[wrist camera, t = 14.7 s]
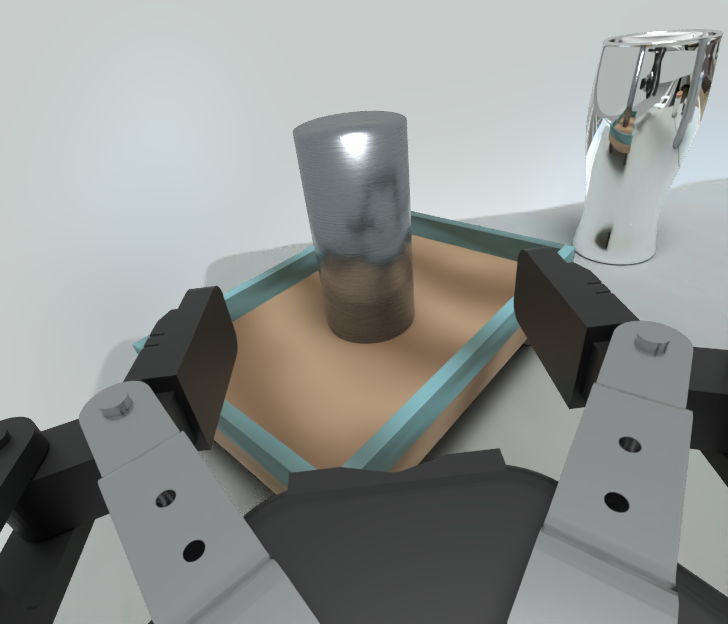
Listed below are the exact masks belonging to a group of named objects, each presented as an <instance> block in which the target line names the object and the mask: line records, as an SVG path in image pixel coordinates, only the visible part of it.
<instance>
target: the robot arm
mask: <svg viewBox="0 0 728 624" xmlns="http://www.w3.org/2000/svg"><path fill="white" fill-rule="evenodd" d="M514 312H515V316H516V319H517V322H518V324H519V325H520V327H521V329H522V330H523V332H524V334H525V335H526V337H527V339H528V340H529V342H530V344H531V345H532V347H533V349H534V350H535V352H536V354H537V356H538V357H539V359H540V361H541V362H542V364H543V366H544V367H545V369H546V371H547V372H548V374H549V376H550V377H551V379H552V381H553V382H554V384H555V386H556V387H557V389H558V391H559V392H560V394H561V396H562V398H563V399H564V401H565V403H566V404H567V406H568V408H569V409H573V408H582V407H585V409H584V412H583V414H582V417H581V420H580V423H579V426H578V429H577V432H576V434H575V437H574V440H573V443H572V446H571V449H570V451H569V454H568V457H567V460H566V463H565V466H564V468H563V471H562V474H561V477H560V480H559V482H558V481H556V480H554V479H552V478H550V477H548V476H545V475H543V474H541V473H538V472H535V471H532V470H529V469H525V468H521V467H516V466H511V465H506V464H505V462H504V459H503V456H502V454H501V451H500V448H499V449H490V450H481V451H473V452H464V453H456V454H447V455H445V456H442V457H439V458H436V459H434V460H431V461H428V462H425V463H422V464H420V465H417V466H414V467H411V468H408V469H406V470H403V471H400V472H394V473H393V472H382V471H373V470H364V469H355V468H346V467H335V468H327V469H318V470H310V471H301V472H292V473H289V480H288V490H286V491H284V492H281V493H279V494H277V495H275V496H273V497H271V498H269V499H267V500H265V501H264V502H262V503H260V504H259V505H257V506H256V507H254V508H253V509H252V510H250V511H249V512H248V513H247V514H245V515H244V516H242V515H241V514H240V512H239V511H238V509H237V508H236V506H235V505H234V503H233V502H232V501H231V499H230V498H229V496H228V495H227V493H226V492H225V490H224V489H223V487H222V486H221V485H220V483H219V482H218V480H217V479H216V477H215V476H214V474H213V473H212V471H211V470H210V469H209V467H208V466H207V464H206V463H205V461H204V460H203V458H202V457H201V455H200V454H199V453H198V451H203V450H211V447H212V443H213V439H214V436H215V432H216V429H217V425H218V421H219V418H220V414H221V411H222V407H223V403H224V400H225V396H226V393H227V389H228V385H229V382H230V378H231V375H232V371H233V367H234V364H235V360H236V357H237V351H238V344H237V336H236V332H235V329H234V326H233V323H232V320H231V317H230V314H229V311H228V308H227V305H226V302H225V299H224V296H223V293H222V291H221V289H220V288H219V287H218V286H212V287H204V288H196V289H189V290H188V291H187V292H186V294H185V296H184V298H183V300H182V302H181V304H180V306H179V308H178V309H174V310H170V311H169V312H168V313H167V314H166V315H165V316H163V317H162V318H161V319H160V320H159V321H158V322H157V323H156V325H155V327H154V328H153V330H152V332H151V334H150V338H148V339H147V341H146V342H145V344H144V348H143V349H142V350H141V351H140V353H139V355H138V357H137V358H136V360H135V362H134V364H133V365H132V367H131V369H130V371H129V373H128V374H127V376H126V378H125V380H124V381H123V382H122V383H118V384H115V385H113V386H110V387H108V388H106V389H104V390H102V391H101V392H99V393H98V394H96V395H95V396H94V397H92V398H91V399H90V400H89V401H88V402H87V403H86V404H85V406H84V407H83V409H82V410H81V412H80V415H79V419H77V420H74V421H71V422H68V423H65V424H62V425H59V426H56V427H53V428H50V429H47V430H44V431H40V430H39V429H38V427H37V426H36V425H35V423H34V422H33V421H32V420H31V419H29V418H26V417H13V418H8V419H5V420H2V421H0V532H1V530H2V529H3V527H4V525H5V523H6V522H7V523H8V524H9V525H10V526H11V527H12V528H13V531H12V533H11V535H10V537H9V538H8V540H7V542H6V544H5V545H4V547H3V549H2V551H1V553H0V624H53V622H54V619H55V617H56V614H57V612H58V609H59V607H60V604H61V602H62V599H63V597H64V594H65V592H66V590H67V587H68V585H69V582H70V580H71V577H72V575H73V572H74V570H75V567H76V565H77V563H78V560H79V558H80V555H81V553H82V550H83V548H84V545H85V543H86V540H87V538H88V535H89V533H90V531H91V528H92V526H93V523H94V521H95V519H97V518H99V517H102V516H104V515H107V514H109V513H110V515H111V518H112V520H113V523H114V525H115V528H116V530H117V533H118V535H119V538H120V540H121V543H122V545H123V548H124V550H125V553H126V555H127V558H128V560H129V563H130V565H131V568H132V570H133V573H134V575H135V578H136V580H137V583H138V585H139V588H140V590H141V593H142V596H143V598H144V601H145V603H146V606H147V608H148V611H149V613H150V616H151V618H152V620H151V621H150V622H149V623H148V624H728V597H727V596H725V595H724V594H722V593H721V592H719V591H718V590H716V589H715V588H714V587H712V586H711V585H709V584H708V583H706V582H705V581H703V580H702V579H701V578H699V577H698V576H696V575H695V574H693V573H692V572H690V571H689V570H688V569H686V568H685V567H683V566H682V565H680V564H679V563H677V559H678V550H679V541H680V532H681V523H682V514H683V505H684V495H685V486H686V477H687V468H688V459H689V450H690V449H697V450H700V451H701V452H702V454H703V455H704V456H705V458H706V459H707V460H708V462H709V463H710V464H711V466H712V467H713V468H714V469H715V471H716V472H717V473H718V475H719V476H720V477H721V479H722V480H723V481H724V483H725V484H726V485H727V487H728V350H722V349H710V348H699V347H693V346H692V343H691V342H690V340H689V339H688V338H687V337H686V336H685V335H683V334H682V333H681V332H679V331H677V330H675V329H673V328H671V327H669V326H666V325H663V324H659V323H655V322H649V321H640V320H639V319H638V318H637V317H636V316H635V315H634V314H633V313H632V312H631V311H630V310H629V309H628V308H627V307H626V306H625V305H624V304H623V303H622V302H621V301H620V300H619V299H618V298H617V297H616V296H615V295H614V294H613V293H611V292H610V290H609V289H608V288H607V287H606V286H605V285H604V284H602V283H601V281H600V280H599V279H598V278H597V277H596V276H595V275H594V274H593V273H592V272H591V271H590V270H588V269H586V268H584V267H582V266H580V265H578V264H576V263H574V262H570V263H567V262H566V261H565V260H564V259H563V258H562V257H561V256H560V255H559V254H558V253H557V251H556V250H555V249H554V248H553V247H551V246H548V247H540V248H532V249H524V250H521V251H520V253H519V255H518V261H517V271H516V281H515V291H514Z"/></svg>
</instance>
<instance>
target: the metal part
mask: <svg viewBox="0 0 728 624" xmlns="http://www.w3.org/2000/svg"><path fill="white" fill-rule="evenodd" d="M293 136H294V142H295V147H296V153H297V158H298V164H299V169H300V174H301V180H302V185H303V191H304V196H305V202H306V207H307V212H308V218H309V223H310V228H311V234H312V240H313V245H314V250H315V256H316V261H317V267H318V272H319V278H320V283H321V288H322V294H323V299H324V305H325V310H326V316H327V321H328V325H329V328H330V330H331V331H332V332H333V333H334V334H335V335H336V336H338V337H339V338H341V339H343V340H346V341H349V342H353V343H360V344H372V343H380V342H384V341H387V340H390V339H393V338H395V337H397V336H399V335H401V334H402V333H404V332H405V331H406V330H407V329H408V328H409V327H410V326H411V325H412V323H413V321H414V318H415V306H414V282H413V259H412V235H411V211H410V189H409V164H408V142H407V141H408V140H407V119H406V117H405V116H403V115H401V114H398V113H394V112H386V111H360V112H349V113H342V114H335V115H331V116H326V117H321V118H317V119H314V120H311V121H308V122H306V123H303V124H301V125H299V126H298V127H296V128H295V129H294V130H293Z"/></svg>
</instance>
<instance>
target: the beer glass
mask: <svg viewBox="0 0 728 624" xmlns="http://www.w3.org/2000/svg"><path fill="white" fill-rule="evenodd" d="M722 35H723V32H722V31H718V30H705V29H693V30H691V29H690V30H668V31H656V32H655V31H654V32H644V33H635V34H628V35H621V36H616V37H611V38H608V39H605V40H604V41H603V47H602V52H601V56H600V60H599V64H598V68H597V72H596V76H595V80H594V85H593V89H592V94H591V99H590V104H589V110H588V118H587V126H586V146H585V149H586V150H585V151H586V197H585V205H584V209H583V213H582V216H581V219H580V222H579V225H578V227H577V230H576V232H575V235H574V238H573V242H572V244H573V247H576V249H575V251H576V252H577V253H579V254H580V255H582V256H583V257H585V258H588V259H590V260H593V261H597V262H601V263H606V264H616V265H627V264H636V263H640V262H643V261H646V260H648V259H650V258H651V257H652V256H653V255H654V253H655V250H656V236H657V223H658V217H659V213H660V210H661V207H662V204H663V202H664V199H665V197H666V195H667V193H668V191H669V188H670V186H671V184H672V182H673V180H674V178H675V176H676V175H677V173H678V171H679V169H680V167H681V164H682V163H683V161H684V159H685V157H686V155H687V153H688V150H689V148H690V146H691V144H692V141H693V139H694V137H695V135H696V132H697V130H698V127H699V125H700V121H701V119H702V116H703V112H704V110H705V107H706V103H707V100H708V96H709V92H710V88H711V84H712V80H713V75H714V71H715V65H716V61H717V56H718V51H719V46H720V42H721V38H722Z"/></svg>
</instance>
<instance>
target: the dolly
mask: <svg viewBox="0 0 728 624" xmlns="http://www.w3.org/2000/svg"><path fill="white" fill-rule="evenodd" d="M411 235H412V259H413V282H414V306H415V318H414V321H413V323H412V325H411V326H410V327H409V328H408V329H407V330H406V331H405V332H404V333H402V334H401V335H399V336H397V337H395V338H393V339H390V340H387V341H384V342H380V343H372V344H360V343H353V342H349V341H346V340H343V339H341V338H339V337H338V336H336V335H335V334H334V333H333V332H332V331H331V330H330V328H329V325H328V321H327V316H326V310H325V305H324V299H323V294H322V288H321V283H320V278H319V272H318V267H317V261H316V256H315V250H314V245H313V246H311V247H310V248H308V249H306V250H304V251H302V252H300V253H299V254H297V255H295V256H293V257H291V258H289V259H288V260H286V261H284V262H282V263H280V264H278V265H277V266H275V267H273V268H271V269H269V270H267V271H266V272H264V273H262V274H260V275H258V276H256V277H255V278H253V279H251V280H249V281H247V282H245V283H244V284H242V285H240V286H238V287H236V288H234V289H233V290H231V291H229V292H227V293H225V294H224V295H223V296H224V299H225V302H226V305H227V308H228V311H229V314H230V317H231V320H232V323H233V326H234V329H235V332H236V336H237V344H238V351H237V357H236V360H235V364H234V367H233V371H232V375H231V378H230V382H229V385H228V389H227V393H226V396H225V400H224V403H223V407H222V411H221V414H220V418H219V421H218V425H217V429H216V432H215V436H214V440H215V441H216V442H217V443H218V444H219V445H221V446H222V447H223V448H224V449H225V450H226V451H227V452H229V453H230V454H231V455H232V456H233V457H234V458H235V459H237V460H238V461H239V462H240V463H241V464H242V465H243V466H245V467H246V468H247V469H248V470H249V471H250V472H251V473H253V474H254V475H255V476H256V477H257V478H258V479H259V480H261V481H262V482H263V483H264V484H265V485H266V486H267V487H269V488H270V489H271V490H272V491H273V492H274V493H275V494H276V495H277V494H279V493H281V492H284V491H286V490H288V480H289V473H292V472H301V471H310V470H318V469H327V468H335V467H346V468H355V469H364V470H373V471H382V472H393V473H394V472H400V471H403V470H406V469H408V468H411V467H414V466H417V465H418V464H419V463H420V462H421V460H422V459H423V458H424V457H425V456H426V455H427V454H428V452H429V451H430V450H431V449H432V448H433V447H434V445H435V444H436V443H437V442H438V441H439V440H440V439H441V437H442V436H443V435H444V434H445V433H446V432H447V430H448V429H449V428H450V427H451V426H452V425H453V424H454V422H455V421H456V420H457V419H458V418H459V417H460V416H461V414H462V413H463V412H464V411H465V410H466V409H467V407H468V406H469V405H470V404H471V403H472V402H473V401H474V399H475V398H476V397H477V396H478V395H479V394H480V392H481V391H482V390H483V389H484V388H485V387H486V386H487V384H488V383H489V382H490V381H491V380H492V379H493V377H494V376H495V375H496V374H497V373H498V372H499V371H500V369H501V368H502V367H503V366H504V365H505V364H506V362H507V361H508V360H509V359H510V358H511V357H512V356H513V354H514V353H515V352H516V351H517V350H518V349H519V347H520V346H521V345H522V344H526V345H531V344H530V342H529V340H528V339H527V337H526V335H525V334H524V332H523V330H522V329H521V327H520V325H519V324H518V322H517V319H516V316H515V312H514V291H515V281H516V271H517V261H518V255H519V253H520V251H521V250H524V249H532V248H540V247H548V246H551V247H553V248H554V249H555V250H556V251H557V253H558V254H559V255H560V256H561V257H562V258H563V259H564V260H565V261H566V262H567V263H570V262H573V260H574V255H575V249H576V247H573V246H568V245H564V244H559V243H554V242H550V241H545V240H541V239H536V238H532V237H527V236H522V235H518V234H513V233H509V232H504V231H500V230H495V229H490V228H486V227H481V226H477V225H472V224H468V223H463V222H458V221H454V220H449V219H445V218H440V217H435V216H430V215H426V214H422V213H417V212H413V211H411ZM148 338H150V335H148V336H147V337H145V338H143V339H141V340H139V341H137V342H136V343H134V344H133V346H134V348H135V350H136V352H137V354H138V355H139V353H140V351H141V350H142V349H143V348H144V344H145V342H146V341H147V339H148Z"/></svg>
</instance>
